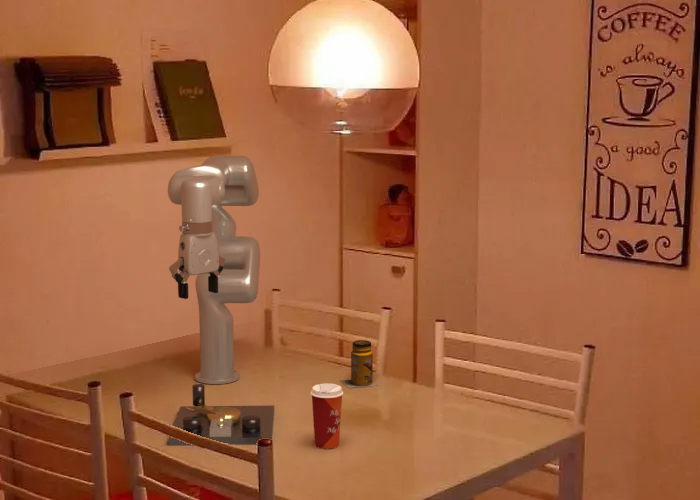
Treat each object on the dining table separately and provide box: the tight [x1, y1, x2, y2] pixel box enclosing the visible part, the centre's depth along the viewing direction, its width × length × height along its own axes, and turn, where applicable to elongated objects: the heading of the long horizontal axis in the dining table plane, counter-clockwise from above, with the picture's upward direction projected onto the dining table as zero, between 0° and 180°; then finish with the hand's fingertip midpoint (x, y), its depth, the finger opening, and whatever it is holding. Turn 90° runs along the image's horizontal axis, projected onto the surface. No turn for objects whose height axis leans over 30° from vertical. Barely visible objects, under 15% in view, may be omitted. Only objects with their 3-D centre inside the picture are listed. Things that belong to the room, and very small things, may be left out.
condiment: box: [340, 339, 378, 389], centre depth 292 cm, size 7×8×12 cm
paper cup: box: [310, 383, 344, 450], centre depth 243 cm, size 8×8×14 cm
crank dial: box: [191, 383, 240, 424], centre depth 258 cm, size 16×8×7 cm, turn 46°
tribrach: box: [168, 404, 275, 446], centre depth 256 cm, size 24×24×6 cm
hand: (198, 295), depth 265 cm, fingers open, 9 cm apart
